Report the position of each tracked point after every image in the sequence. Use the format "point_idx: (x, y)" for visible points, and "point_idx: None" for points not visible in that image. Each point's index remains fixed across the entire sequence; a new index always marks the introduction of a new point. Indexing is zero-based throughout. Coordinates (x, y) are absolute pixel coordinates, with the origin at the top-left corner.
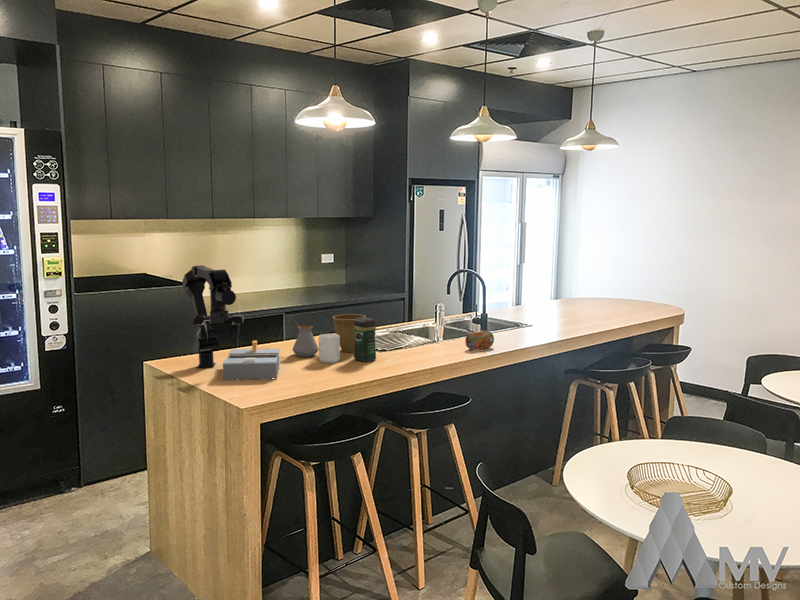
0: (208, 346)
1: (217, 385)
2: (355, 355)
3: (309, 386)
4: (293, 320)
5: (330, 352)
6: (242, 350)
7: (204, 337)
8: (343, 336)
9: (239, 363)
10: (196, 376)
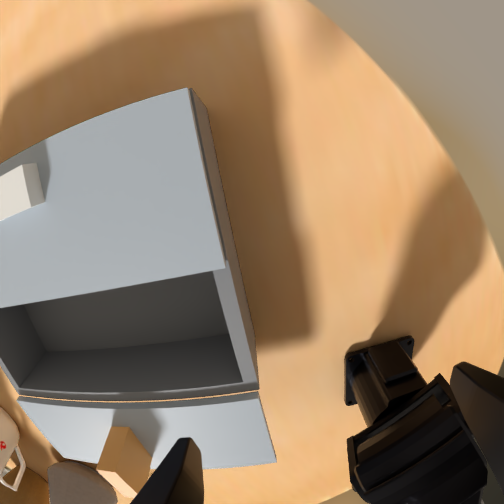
0: (406, 421)
1: (207, 16)
2: None
3: None
4: None
5: None
6: (204, 453)
7: (454, 451)
8: (13, 492)
9: (64, 132)
10: (389, 186)
